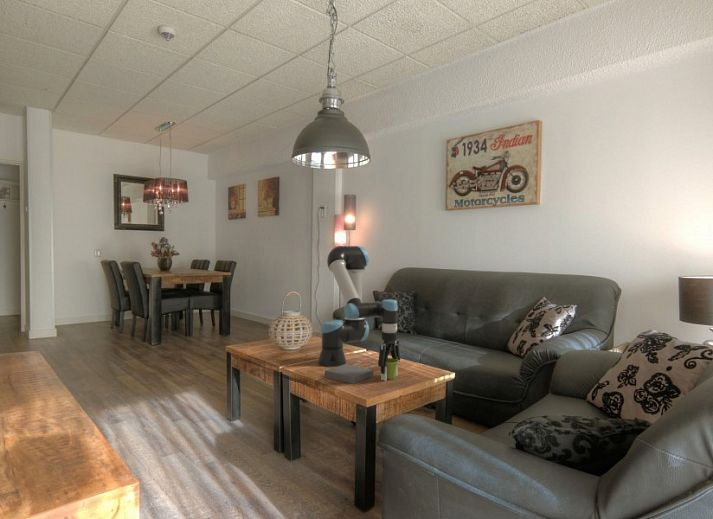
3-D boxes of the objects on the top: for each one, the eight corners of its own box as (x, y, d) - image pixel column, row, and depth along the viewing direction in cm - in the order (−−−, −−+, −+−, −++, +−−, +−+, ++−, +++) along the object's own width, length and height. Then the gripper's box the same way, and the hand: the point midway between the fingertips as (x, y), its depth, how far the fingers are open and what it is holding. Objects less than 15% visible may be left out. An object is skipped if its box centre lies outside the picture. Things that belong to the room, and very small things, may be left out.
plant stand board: (324, 376, 209) (324, 370, 209) (345, 369, 221) (345, 364, 221) (353, 383, 198) (353, 377, 198) (373, 376, 211) (373, 370, 210)
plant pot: (385, 381, 201) (385, 363, 201) (376, 376, 210) (376, 359, 210) (402, 379, 205) (402, 361, 205) (392, 374, 213) (393, 357, 213)
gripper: (383, 335, 196) (383, 384, 196) (407, 329, 213) (407, 374, 214) (370, 334, 201) (370, 381, 201) (394, 327, 218) (394, 371, 218)
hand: (389, 377), depth 207 cm, fingers open, 9 cm apart
